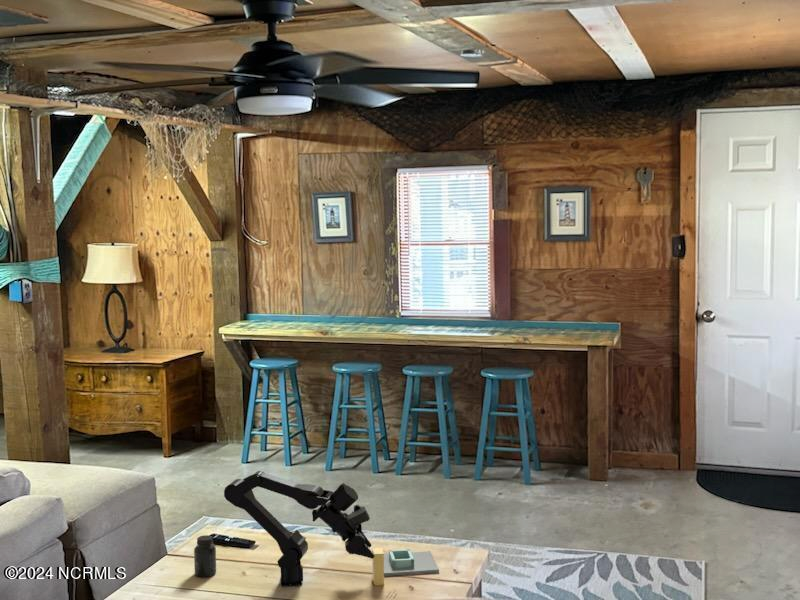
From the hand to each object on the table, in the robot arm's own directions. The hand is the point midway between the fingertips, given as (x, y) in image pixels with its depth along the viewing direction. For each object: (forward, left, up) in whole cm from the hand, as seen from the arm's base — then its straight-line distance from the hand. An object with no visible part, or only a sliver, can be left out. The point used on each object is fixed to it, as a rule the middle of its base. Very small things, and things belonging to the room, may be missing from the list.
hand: (372, 551), depth 278 cm
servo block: (+2, 0, -10) cm, 10 cm away
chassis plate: (+13, +12, -10) cm, 20 cm away
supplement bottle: (-52, +15, -10) cm, 55 cm away
